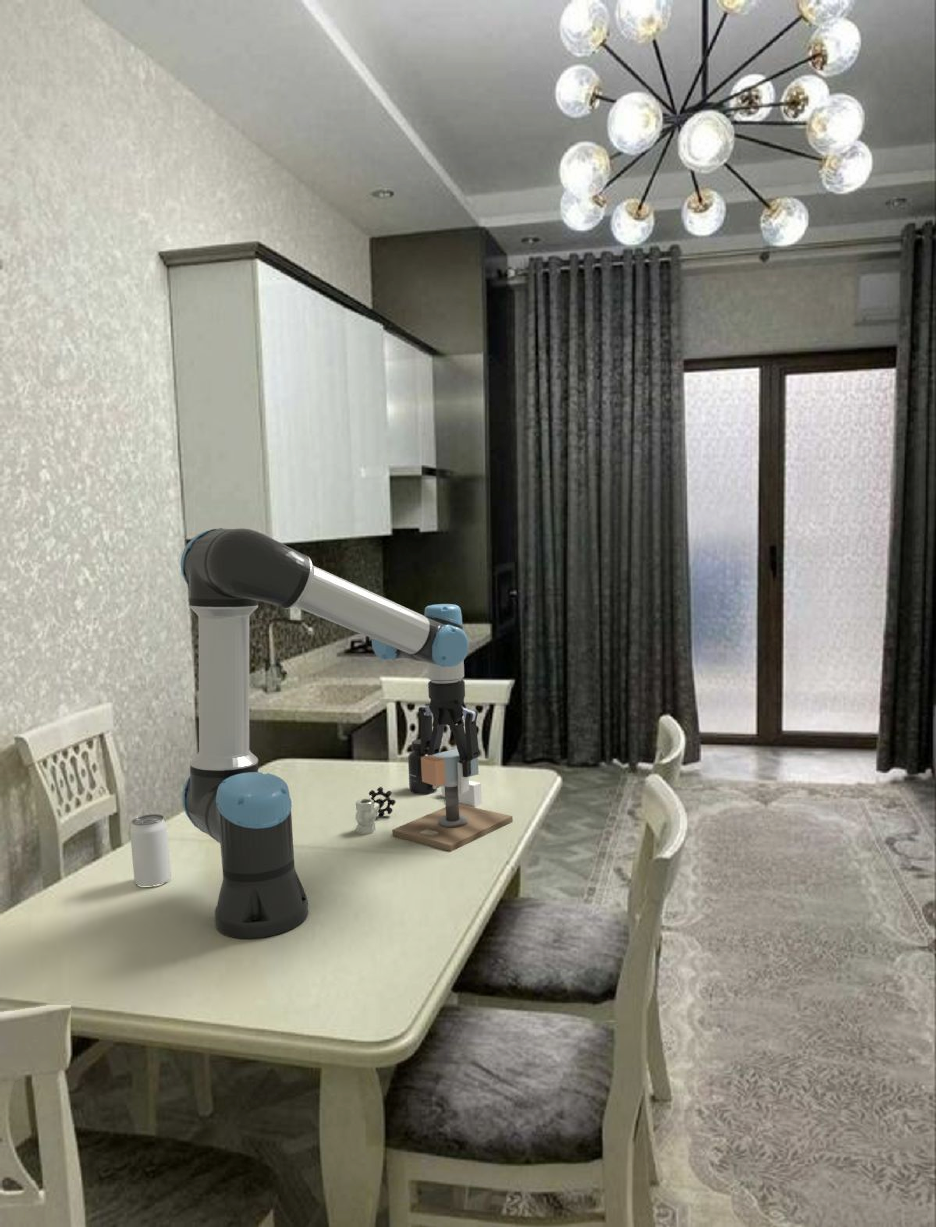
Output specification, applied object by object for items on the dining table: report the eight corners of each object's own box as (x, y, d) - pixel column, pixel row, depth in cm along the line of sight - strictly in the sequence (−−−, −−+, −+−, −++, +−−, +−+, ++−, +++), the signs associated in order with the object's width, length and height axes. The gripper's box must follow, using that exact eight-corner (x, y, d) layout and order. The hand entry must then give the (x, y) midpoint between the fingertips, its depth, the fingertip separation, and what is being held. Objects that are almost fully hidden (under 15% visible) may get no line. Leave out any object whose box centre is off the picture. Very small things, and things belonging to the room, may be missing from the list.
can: (178, 875, 172) (173, 814, 170) (158, 890, 166) (152, 826, 164) (148, 873, 173) (143, 812, 172) (127, 887, 167) (121, 824, 166)
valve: (378, 835, 188) (396, 816, 200) (376, 805, 188) (394, 787, 199) (348, 834, 190) (368, 815, 202) (346, 803, 189) (366, 786, 201)
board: (451, 851, 178) (448, 805, 177) (392, 835, 188) (389, 792, 187) (512, 821, 193) (510, 779, 192) (455, 808, 203) (453, 768, 202)
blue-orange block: (479, 780, 191) (477, 750, 190) (436, 792, 184) (435, 761, 183) (464, 776, 195) (463, 746, 194) (422, 787, 188) (420, 757, 187)
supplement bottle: (405, 794, 215) (402, 744, 214) (415, 785, 222) (412, 737, 220) (432, 795, 213) (430, 745, 212) (442, 786, 220) (439, 738, 218)
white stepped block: (492, 809, 203) (491, 784, 202) (441, 814, 201) (440, 788, 201) (480, 789, 218) (479, 766, 217) (433, 793, 216) (432, 770, 216)
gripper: (494, 679, 185) (498, 790, 187) (421, 673, 195) (426, 778, 198) (473, 686, 178) (478, 801, 181) (398, 679, 189) (404, 787, 192)
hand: (451, 789), depth 189 cm, fingers closed on blue-orange block, 6 cm apart
